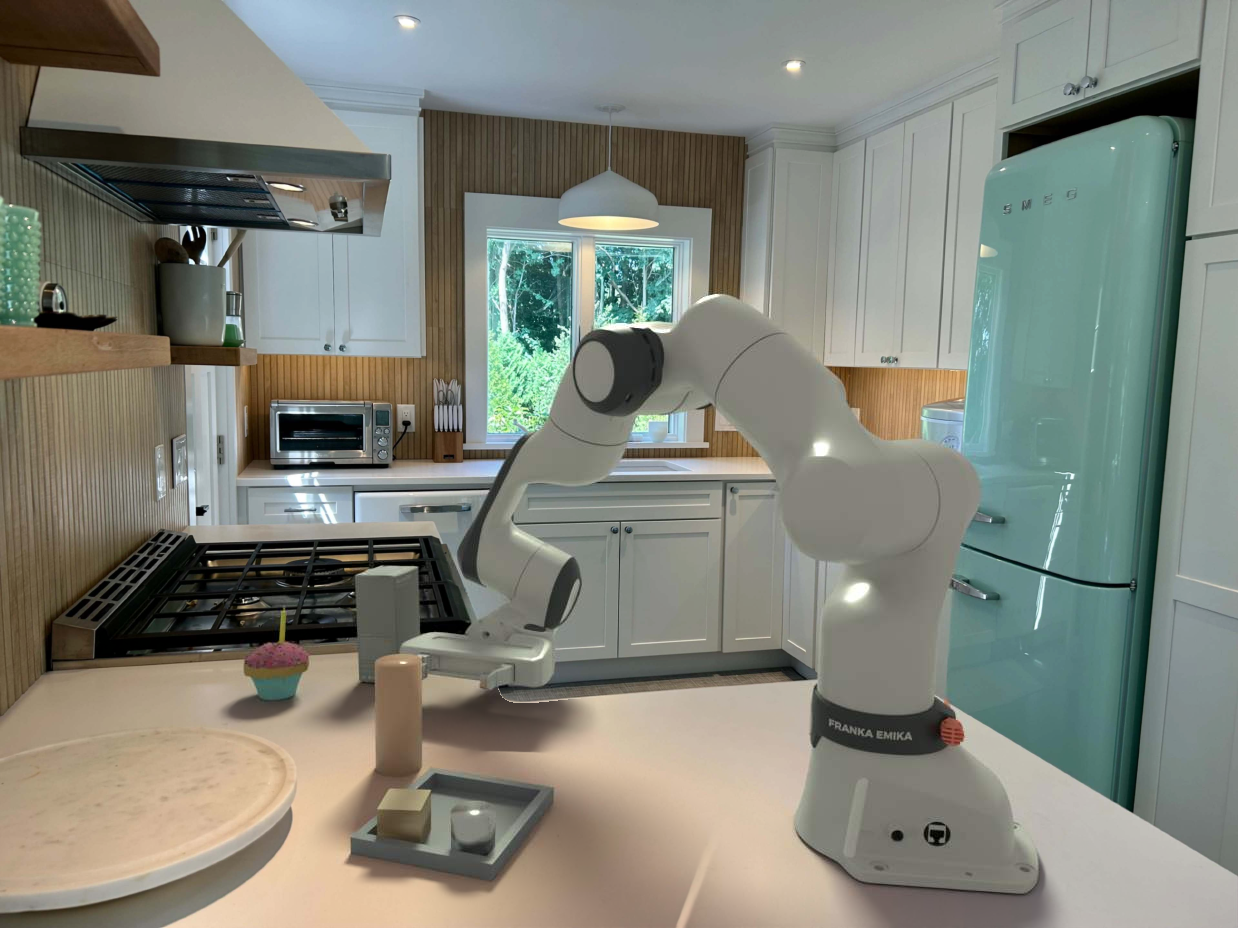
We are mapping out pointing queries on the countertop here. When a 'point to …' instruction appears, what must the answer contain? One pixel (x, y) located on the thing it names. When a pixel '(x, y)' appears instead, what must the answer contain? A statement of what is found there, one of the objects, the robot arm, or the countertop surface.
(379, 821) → the part oak
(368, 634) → the skincare box
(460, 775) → the parts tray
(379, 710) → the canister
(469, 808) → the part metal
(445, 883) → the countertop surface
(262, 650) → the cupcake
